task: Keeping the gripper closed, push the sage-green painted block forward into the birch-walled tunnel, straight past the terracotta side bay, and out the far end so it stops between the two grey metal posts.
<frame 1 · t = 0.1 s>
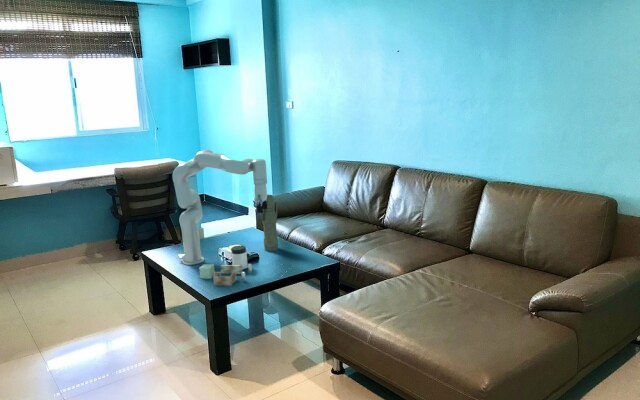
hand: (262, 210, 282), 31 cm above the table, tool pointing down, fingers open, 9 cm apart
tunnel: (228, 276, 269), on the table
olive brown statue: (271, 249, 313), on the table
jar: (240, 267, 282), on the table
goal posts: (247, 276, 267), on the table
block: (207, 276, 271), on the table
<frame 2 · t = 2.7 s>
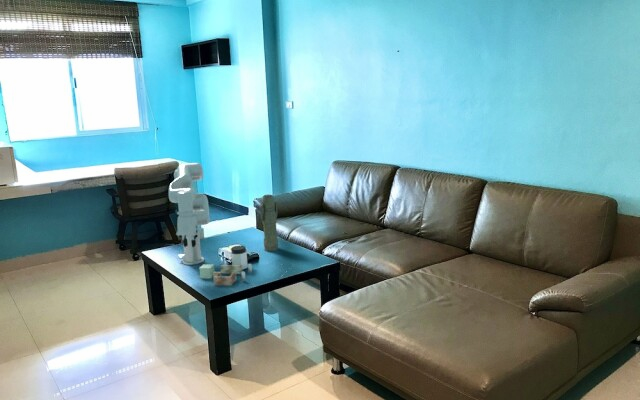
hand: (189, 246, 269), 17 cm above the table, tool pointing down, fingers open, 3 cm apart
nothing on the table moved.
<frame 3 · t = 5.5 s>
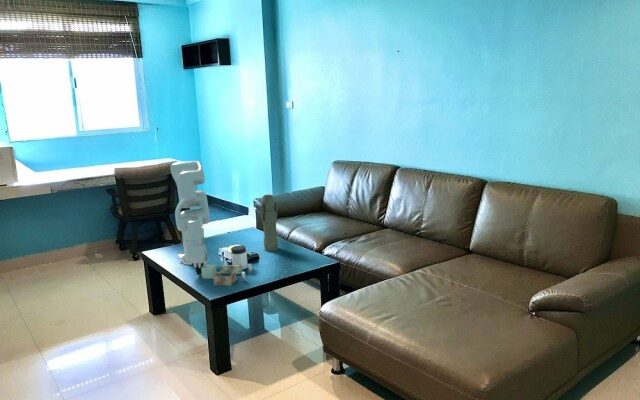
hand: (199, 273, 271), 1 cm above the table, tool pointing down, fingers closed
block: (209, 276, 271), on the table, touching gripper
everything else where it was.
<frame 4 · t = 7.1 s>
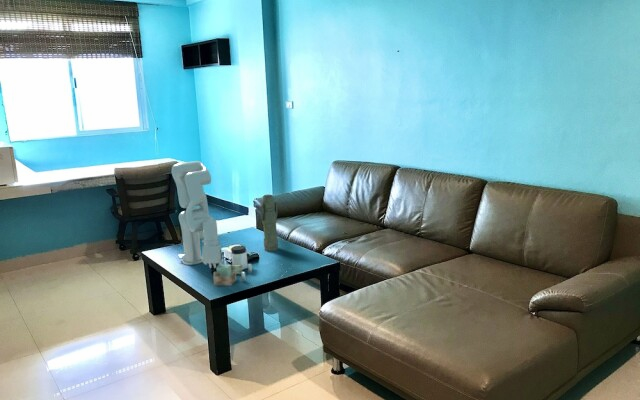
hand: (214, 274, 270), 1 cm above the table, tool pointing down, fingers closed
block: (224, 276, 269), on the table, touching gripper
everything else where it was.
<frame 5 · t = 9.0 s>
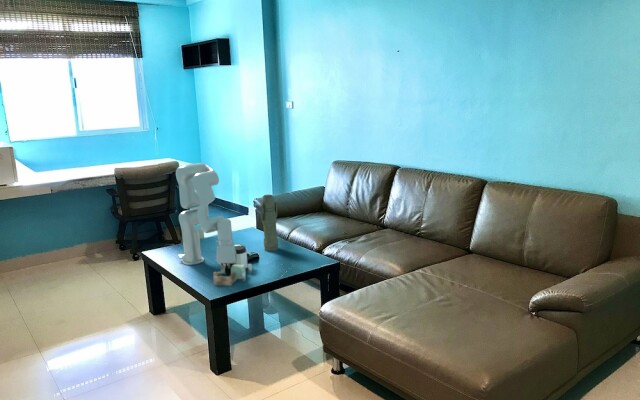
hand: (228, 274, 269), 1 cm above the table, tool pointing down, fingers closed
block: (238, 276, 268), on the table, touching gripper
everything else where it was.
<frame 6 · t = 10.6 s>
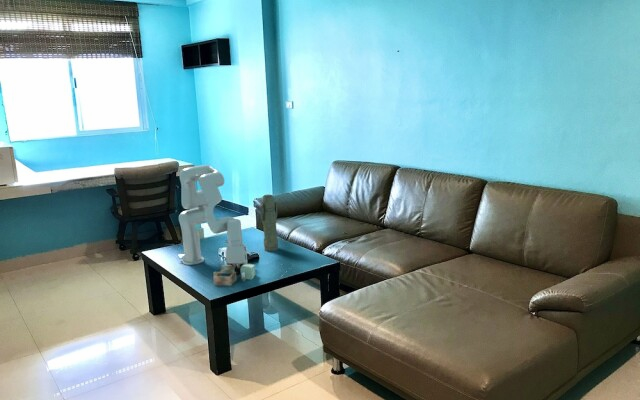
hand: (237, 274, 268), 1 cm above the table, tool pointing down, fingers closed
block: (248, 277, 267), on the table, touching gripper
everything else where it was.
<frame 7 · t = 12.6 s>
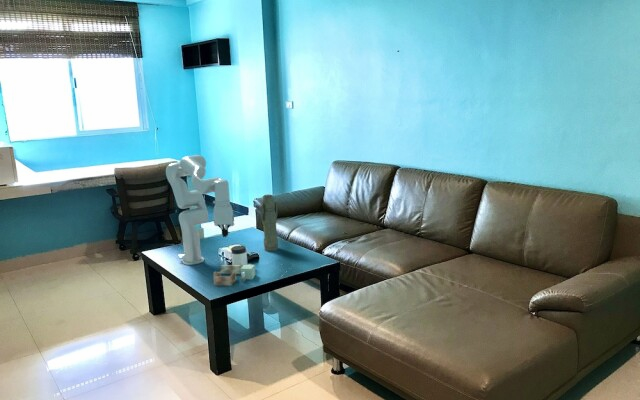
hand: (225, 236, 266), 23 cm above the table, tool pointing down, fingers closed
block: (248, 277, 267), on the table
everything else where it was.
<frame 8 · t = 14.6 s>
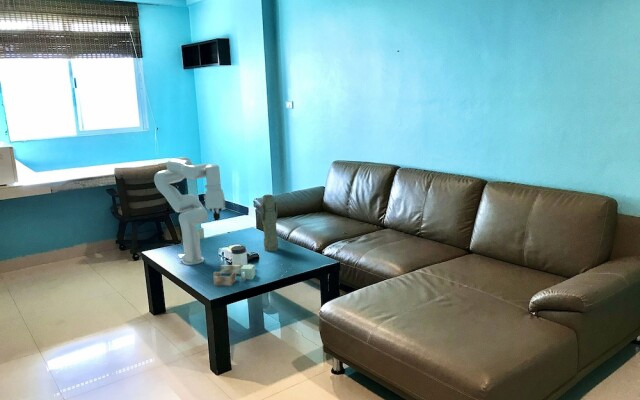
hand: (217, 219, 275), 29 cm above the table, tool pointing down, fingers closed
nothing on the table moved.
at the end: block inside the target area on the table beside the tunnel (0.5 cm from its centre), on the table; block tilted 0° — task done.
